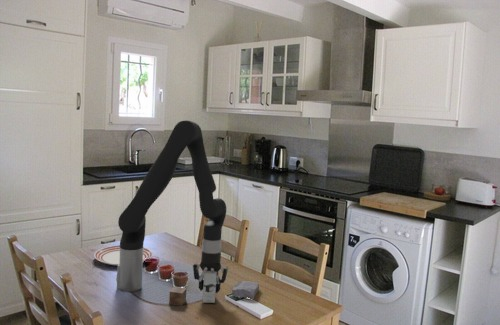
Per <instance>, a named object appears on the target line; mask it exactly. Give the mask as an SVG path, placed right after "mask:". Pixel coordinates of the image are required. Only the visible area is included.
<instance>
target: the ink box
mask: <svg viewBox="0 0 500 325" xmlns="http://www.w3.org/2000/svg"><path fill="white" fill-rule="evenodd" d="M216 273H217V272H216V271H215V272H211V271H204V278H203V280H204V283H203V290H202V303H212V304H214V303H216V294H217V293H216Z"/></svg>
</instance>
